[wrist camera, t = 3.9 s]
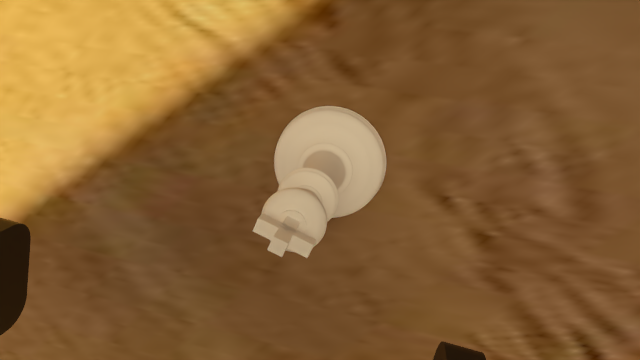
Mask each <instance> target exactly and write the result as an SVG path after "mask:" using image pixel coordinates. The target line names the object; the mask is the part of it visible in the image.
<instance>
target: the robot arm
mask: <svg viewBox="0 0 640 360" xmlns="http://www.w3.org/2000/svg"><path fill="white" fill-rule="evenodd" d="M29 253H30V232H29V229H28V227H27V226H26V225H24V224H21V223H18V222H14V221H10V220H7V219H3V218H0V335H2V334H3V333H4V332H6V331H7V330H8V329H9V328H11V327H12V326H13V324H14V323H15V322H16V321H17V319H18V318H19V316H20V314H21V312H22V310H23V308H24V305H25V302H26V296H27V283H28V268H29ZM433 360H486V358H485V355H484V353H482V352H478V351H475V350H471V349H468V348H464V347H460V346H457V345H453V344H450V343H446V342H441V343H440V344H439V346H438V348H437V350H436V353H435V356H434V359H433Z"/></svg>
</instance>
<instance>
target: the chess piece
mask: <svg viewBox="0 0 640 360" xmlns="http://www.w3.org/2000/svg"><path fill="white" fill-rule="evenodd" d="M274 169H275V174H276V178H277V181H278V183H279V188H278V191H277V192H276V193H274V194H273V195H272V196H271V197H269V199H268V200H267V201H266V203H265V204H264V207H263V209H262V214H261V215H260V217H259V218H258V220H257V222H256V224H255V227H254V229H253V232H255V233H257V234H259V235H261V236H263V237H265V238H267V239H269V240H270V241H271V242H270V245H269V247H268V249H267V250H268V251H270V252H272V253H274V254H276V255H278V256H280V257H282V256H283V254H284V252H285V251H289V252H296V253H298V254H300V255H302V256H304V257H306V258H308V256H309V254H310V252H311V250H312V248H313V247H314V246H316V245H317V244H318V243H319V242H320V241H321V239H322V238H323V236H324V234H325V232H326V228H327V222H328V221H329V220H330V219H331V218H335V217H342V216H346V215H349V214H352V213H354V212H356V211H358V210H360V209H361V208H363V207H364V206H365V205H366V204H367V203H369V202H370V200H371V199H372V198H373V197H374V196H375V195H376V193H377V192H378V190H379V189H380V187H381V185H382V183H383V180H384V177H385V172H386V152H385V148H384V145H383V142H382V140H381V138H380V136H379V134H378V132H377V131H376V129H375V128H374V127H373V126H372V125H371V124H370V122H368V121H367V120H366V119H365V118H364V117H362V116H361V115H359V114H358V113H356V112H354V111H352V110H349V109H346V108H342V107H337V106H321V107H316V108H312V109H310V110H307V111H305V112H303V113H301V114H300V115H298V116H297V117H295V118H294V119H293V120H292V121H291V122H290V123H289V124H288V125H287V126H286V128H285V129H284V131H283V132H282V134H281V136H280V138H279V141H278V143H277V146H276V150H275V155H274Z"/></svg>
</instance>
